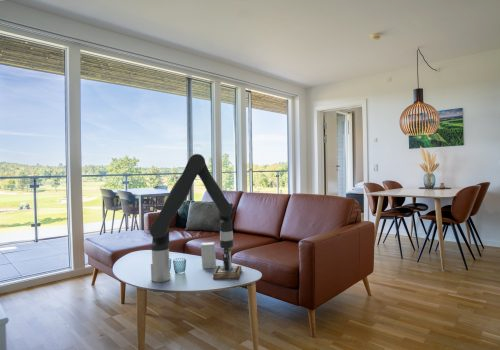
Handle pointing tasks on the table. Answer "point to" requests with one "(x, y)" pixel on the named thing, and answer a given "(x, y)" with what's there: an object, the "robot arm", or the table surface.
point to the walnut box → (227, 273)
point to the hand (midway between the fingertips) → (227, 268)
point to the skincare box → (208, 255)
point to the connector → (229, 265)
